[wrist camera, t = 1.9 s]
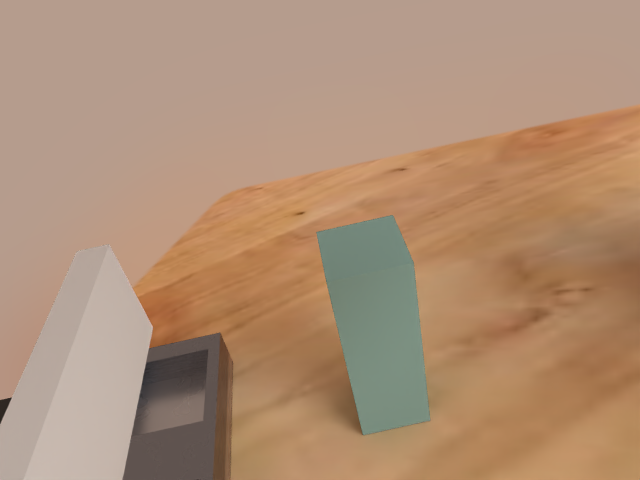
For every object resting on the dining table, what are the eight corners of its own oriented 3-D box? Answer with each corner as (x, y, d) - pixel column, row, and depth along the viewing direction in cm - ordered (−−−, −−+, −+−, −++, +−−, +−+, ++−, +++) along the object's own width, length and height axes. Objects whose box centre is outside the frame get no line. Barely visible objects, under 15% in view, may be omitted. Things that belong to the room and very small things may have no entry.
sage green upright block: (351, 380, 34) (316, 232, 27) (412, 367, 34) (392, 214, 27) (362, 435, 30) (326, 282, 23) (430, 420, 30) (413, 262, 23)
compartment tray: (136, 383, 37) (119, 354, 35) (232, 361, 37) (220, 332, 35) (72, 688, 23) (38, 667, 21) (226, 655, 23) (204, 631, 21)
